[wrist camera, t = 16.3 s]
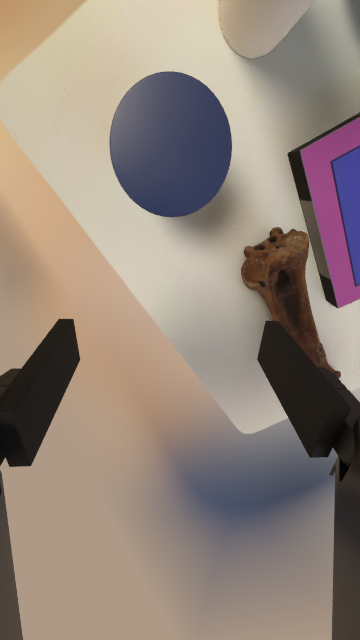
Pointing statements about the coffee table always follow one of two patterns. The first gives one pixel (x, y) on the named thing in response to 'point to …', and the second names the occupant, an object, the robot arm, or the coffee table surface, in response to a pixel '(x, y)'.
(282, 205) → the coffee table surface
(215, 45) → the coffee table surface
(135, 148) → the jar lid
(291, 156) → the book
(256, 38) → the cylindrical container
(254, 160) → the coffee table surface
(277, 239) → the bone
